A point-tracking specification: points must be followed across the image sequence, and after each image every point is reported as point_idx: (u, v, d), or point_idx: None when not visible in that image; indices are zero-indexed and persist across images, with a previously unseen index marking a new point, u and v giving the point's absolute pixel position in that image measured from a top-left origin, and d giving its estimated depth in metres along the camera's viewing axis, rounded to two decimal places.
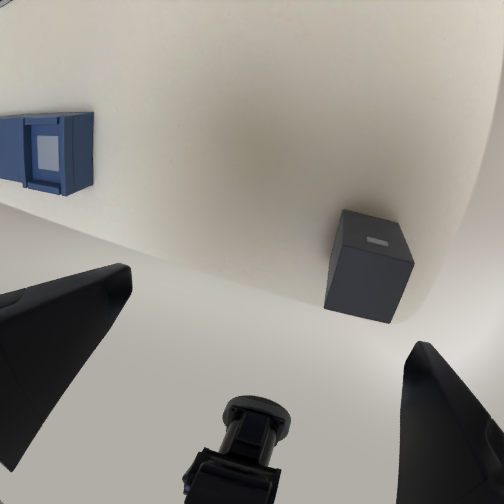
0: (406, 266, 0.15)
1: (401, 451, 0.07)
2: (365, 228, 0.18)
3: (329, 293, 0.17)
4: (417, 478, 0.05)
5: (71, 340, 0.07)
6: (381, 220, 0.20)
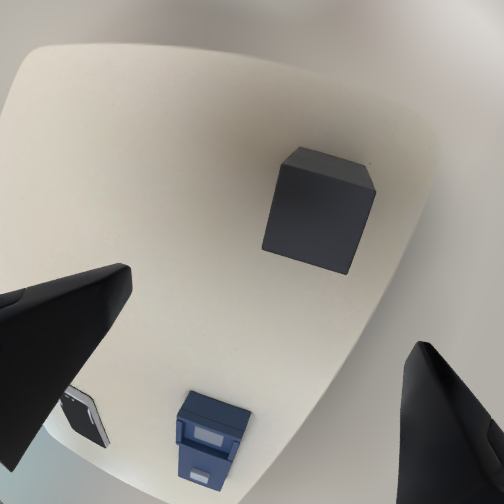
0: (285, 174, 0.13)
1: (401, 451, 0.07)
2: None
3: (324, 267, 0.14)
4: (417, 478, 0.05)
5: (71, 340, 0.07)
6: None
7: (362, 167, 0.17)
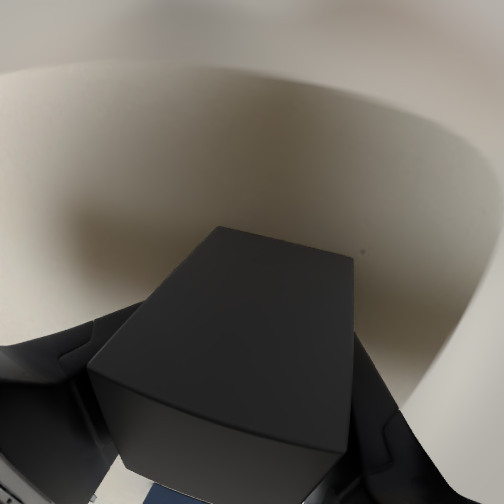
0: (102, 388, 0.04)
1: None
2: None
3: None
4: None
5: None
6: None
7: (344, 270, 0.08)
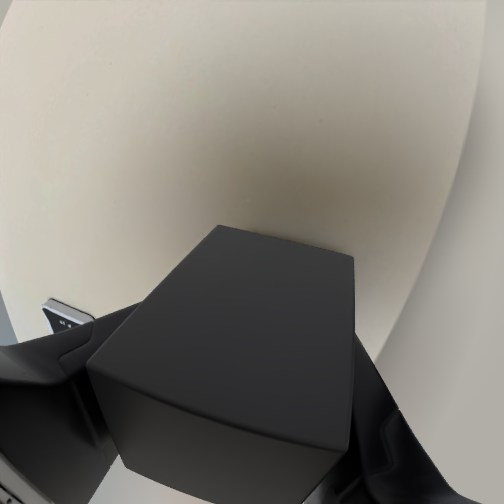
0: (101, 386, 0.04)
1: None
2: None
3: None
4: None
5: None
6: None
7: (344, 269, 0.08)
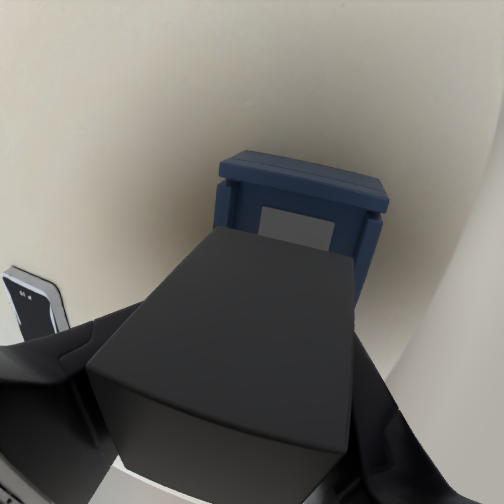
0: (101, 387, 0.04)
1: None
2: None
3: None
4: None
5: None
6: None
7: (344, 270, 0.08)
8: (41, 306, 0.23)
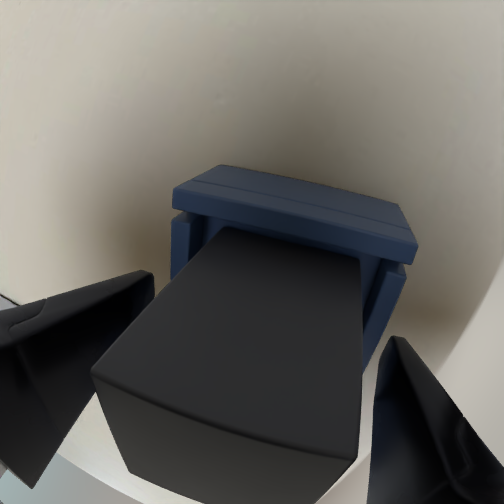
0: (106, 394, 0.04)
1: (373, 448, 0.07)
2: None
3: None
4: (386, 476, 0.05)
5: (95, 352, 0.07)
6: None
7: (351, 272, 0.08)
8: None
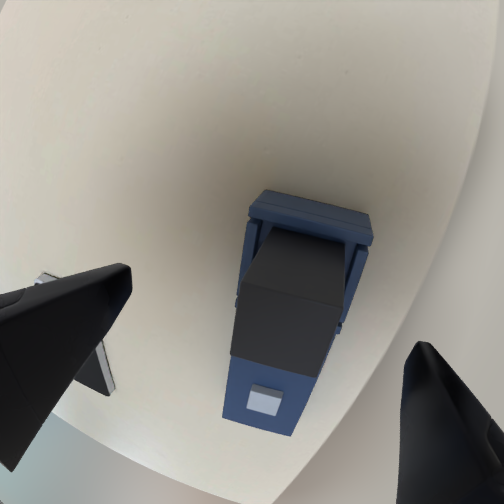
0: (246, 292, 0.12)
1: (401, 451, 0.07)
2: None
3: (293, 372, 0.13)
4: (417, 478, 0.05)
5: (71, 340, 0.07)
6: None
7: (340, 249, 0.16)
8: None
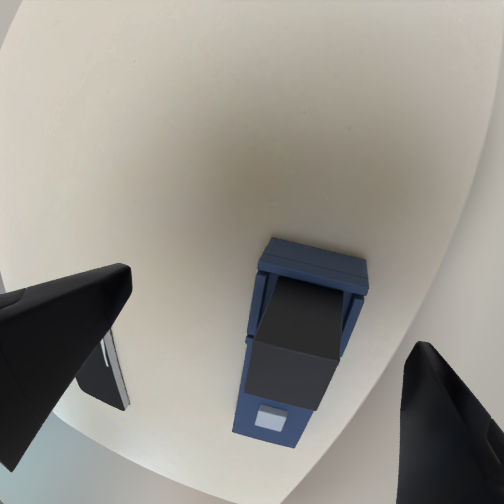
0: (257, 347, 0.14)
1: (401, 451, 0.07)
2: None
3: (296, 406, 0.15)
4: (417, 478, 0.05)
5: (71, 340, 0.07)
6: None
7: (338, 298, 0.18)
8: None
